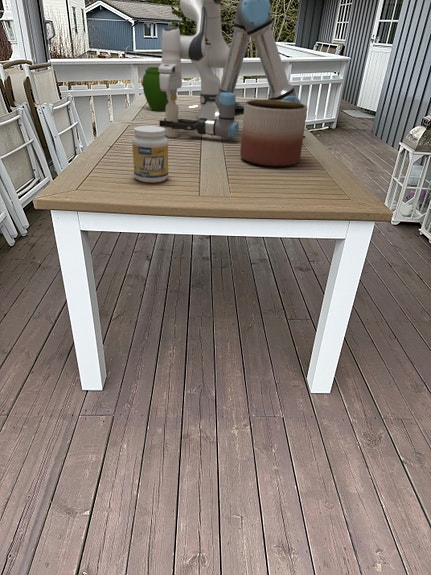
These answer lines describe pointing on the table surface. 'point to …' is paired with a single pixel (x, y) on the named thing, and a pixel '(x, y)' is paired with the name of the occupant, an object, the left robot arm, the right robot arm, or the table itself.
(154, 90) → the vase
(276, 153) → the planter
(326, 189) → the table surface
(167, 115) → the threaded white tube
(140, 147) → the supplement tub
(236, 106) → the sign
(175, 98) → the cap
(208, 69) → the left robot arm
